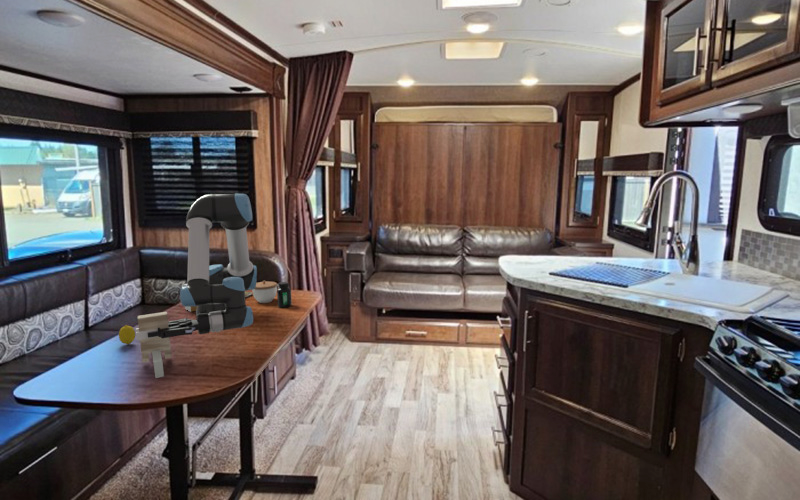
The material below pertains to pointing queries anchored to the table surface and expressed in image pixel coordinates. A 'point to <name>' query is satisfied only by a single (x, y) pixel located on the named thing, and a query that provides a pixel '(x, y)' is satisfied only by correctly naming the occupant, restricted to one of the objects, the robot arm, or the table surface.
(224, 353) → the table surface
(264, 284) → the lidded bowl
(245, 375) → the table surface
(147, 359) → the slotted tab
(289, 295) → the supplement bottle
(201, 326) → the robot arm
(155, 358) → the notched board
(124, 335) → the lemon
